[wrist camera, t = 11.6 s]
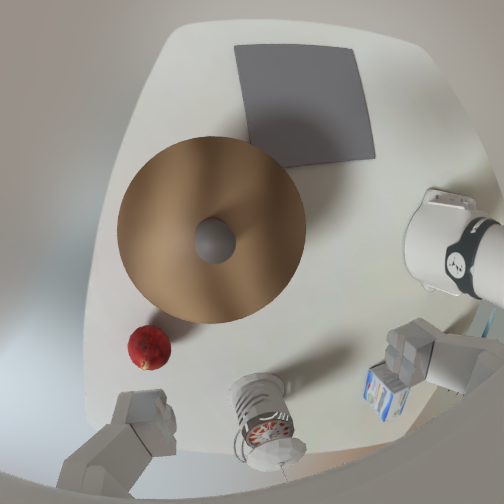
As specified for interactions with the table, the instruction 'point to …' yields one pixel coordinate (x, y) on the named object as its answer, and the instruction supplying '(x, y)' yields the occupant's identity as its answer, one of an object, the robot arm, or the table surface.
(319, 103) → the mat
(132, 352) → the red pomegranate
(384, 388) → the medicine box
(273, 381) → the french press
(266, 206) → the lid
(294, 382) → the table surface
